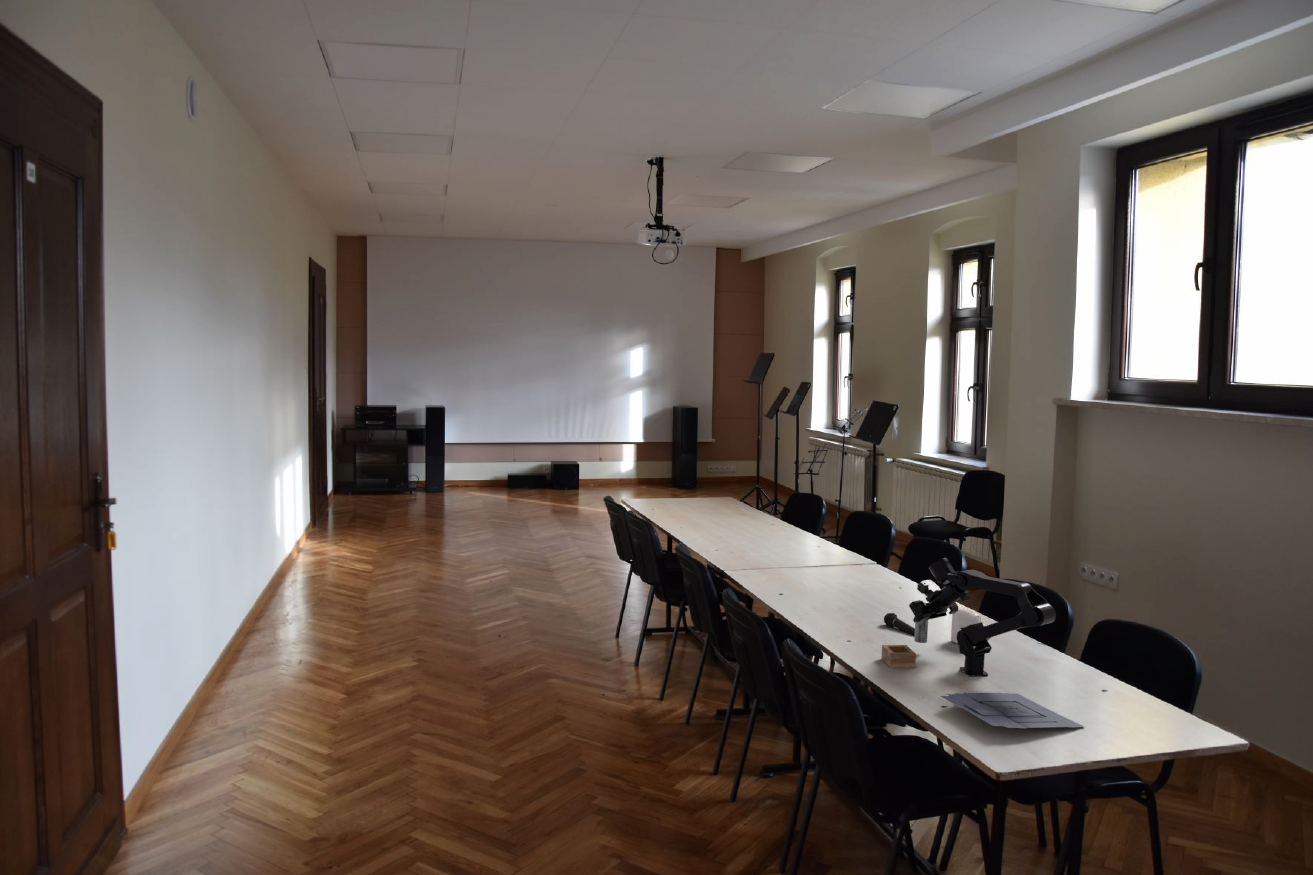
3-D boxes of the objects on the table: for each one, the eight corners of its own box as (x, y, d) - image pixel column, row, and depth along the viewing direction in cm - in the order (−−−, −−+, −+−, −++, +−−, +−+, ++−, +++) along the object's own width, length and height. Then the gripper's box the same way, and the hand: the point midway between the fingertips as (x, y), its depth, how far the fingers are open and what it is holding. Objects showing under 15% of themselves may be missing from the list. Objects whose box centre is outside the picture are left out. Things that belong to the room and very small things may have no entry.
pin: (928, 642, 284) (931, 605, 283) (917, 642, 284) (919, 605, 283) (924, 638, 288) (926, 602, 287) (912, 638, 288) (914, 602, 286)
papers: (933, 702, 242) (935, 690, 241) (1015, 702, 253) (1017, 690, 253) (997, 739, 219) (999, 725, 219) (1084, 737, 230) (1086, 723, 230)
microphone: (928, 646, 302) (887, 625, 317) (933, 631, 302) (892, 611, 317) (919, 644, 299) (878, 623, 314) (924, 629, 299) (883, 609, 314)
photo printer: (948, 640, 299) (950, 605, 298) (957, 639, 301) (959, 604, 300) (972, 650, 290) (975, 614, 289) (981, 648, 292) (983, 612, 291)
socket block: (915, 667, 272) (915, 653, 272) (890, 667, 272) (891, 653, 271) (905, 658, 280) (906, 644, 280) (881, 658, 279) (882, 645, 279)
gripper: (953, 570, 286) (923, 595, 296) (915, 577, 275) (886, 602, 285) (972, 600, 280) (941, 624, 290) (934, 608, 269) (904, 632, 280)
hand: (918, 620), depth 286 cm, fingers closed on pin, 4 cm apart
